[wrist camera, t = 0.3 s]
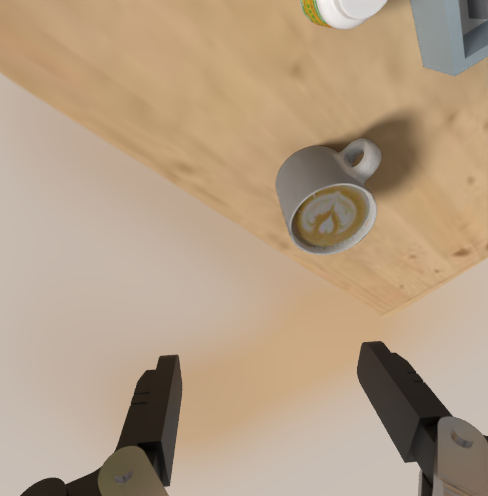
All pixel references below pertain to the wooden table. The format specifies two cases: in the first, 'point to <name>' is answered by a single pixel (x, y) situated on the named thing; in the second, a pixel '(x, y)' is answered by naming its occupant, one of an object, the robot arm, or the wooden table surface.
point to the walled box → (451, 33)
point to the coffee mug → (328, 196)
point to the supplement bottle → (340, 12)
